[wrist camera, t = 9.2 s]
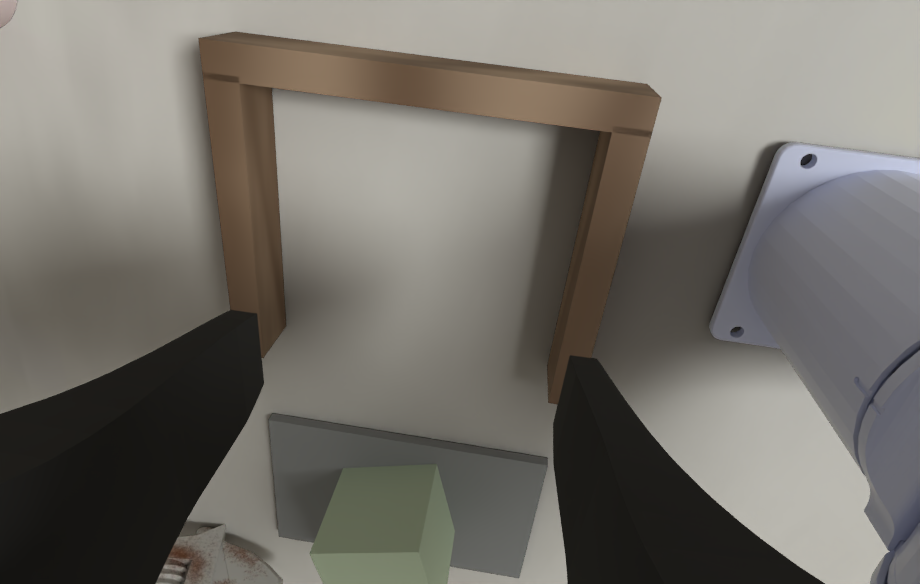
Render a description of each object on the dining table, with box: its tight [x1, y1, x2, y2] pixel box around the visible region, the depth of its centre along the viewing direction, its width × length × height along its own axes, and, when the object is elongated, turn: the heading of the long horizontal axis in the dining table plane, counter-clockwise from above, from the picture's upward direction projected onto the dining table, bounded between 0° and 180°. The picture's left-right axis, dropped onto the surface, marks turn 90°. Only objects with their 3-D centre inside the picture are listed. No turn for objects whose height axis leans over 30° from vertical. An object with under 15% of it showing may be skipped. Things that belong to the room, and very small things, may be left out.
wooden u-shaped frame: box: [199, 32, 661, 404], centre depth 21 cm, size 14×12×2 cm
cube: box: [310, 464, 455, 584], centre depth 28 cm, size 5×5×5 cm
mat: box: [269, 413, 548, 578], centre depth 30 cm, size 14×9×1 cm, turn 84°
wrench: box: [156, 524, 283, 584], centre depth 31 cm, size 8×2×30 cm
